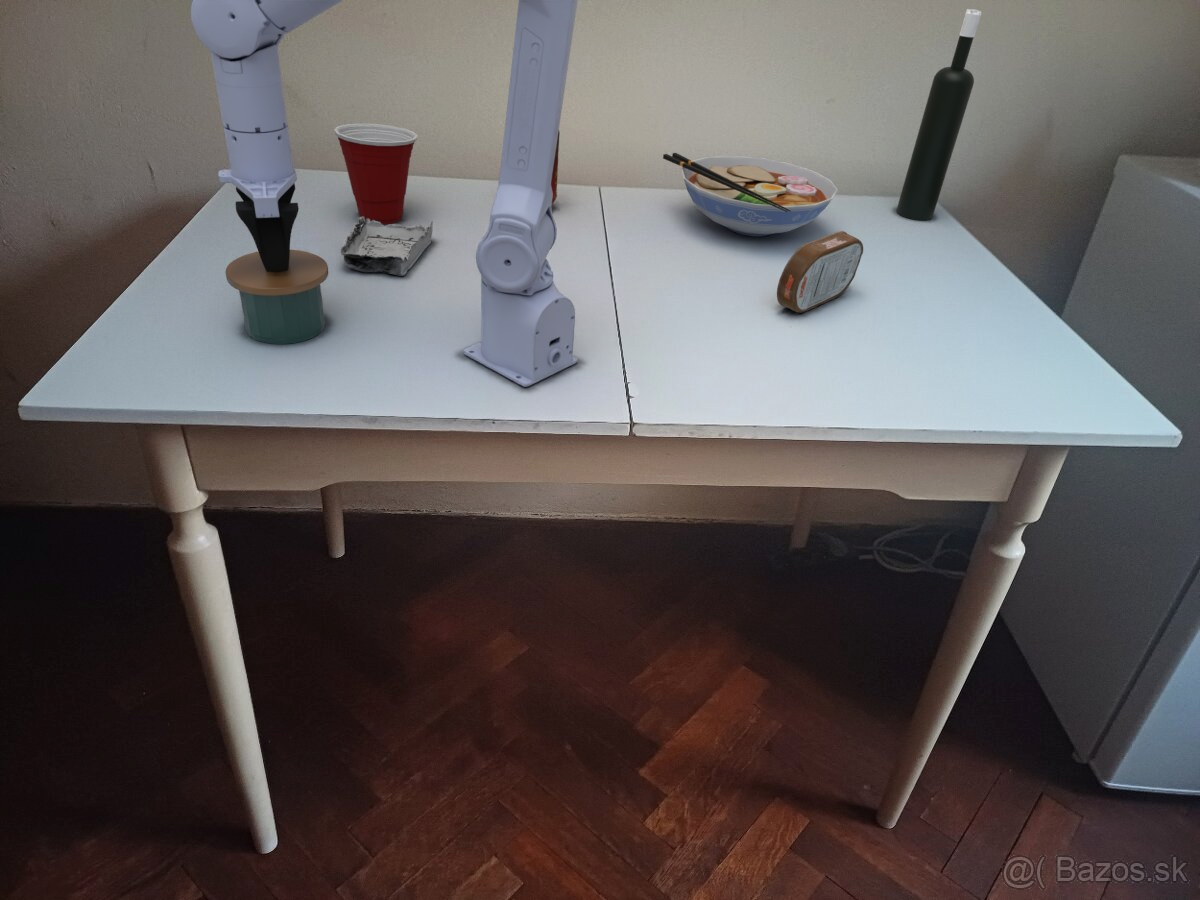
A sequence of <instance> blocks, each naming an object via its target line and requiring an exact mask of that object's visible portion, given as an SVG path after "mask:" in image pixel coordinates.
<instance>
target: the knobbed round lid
mask: <svg viewBox="0 0 1200 900" xmlns="http://www.w3.org/2000/svg"><path fill="white" fill-rule="evenodd" d="M328 276H329V266H328V263H327V261H326V260H325V259H324V258H322V257H321V256H320V255H317V254H315V253H312V252H310V251H309V252H308V251H305V250H300V249H299V250H298V249H290V258H289V267H288V270H287V271H274V272H267V271H266V269H265V267H264V265H263V263H262V260H261V258H260V255H259V252H258V251H255V252H254V251H253V252H251V253H247V254H245V255H241V256H239V257H236V258H235V259H234V260H232V261H230V262H229V264H228V265H227V266H226V267H225V277H226V278H225V279H226V282H227V283H228V284H229V285H230V287H232V288H233V289H235V290H237V291H238V292H239V291H242V292H246V293H250V294H255V295H266V296H275V295H288V294H294V293H299V292H303V291H306V290H309V289H312V288H314V287H316V286H318V285H320V286H321V285H322V284H323V283H324V282H325V281H326V280H327V278H328Z"/></svg>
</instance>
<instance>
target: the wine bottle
mask: <svg viewBox="0 0 1200 900" xmlns="http://www.w3.org/2000/svg"><path fill="white" fill-rule="evenodd" d="M982 12H983V11H982V10H978V9H975V8H974V9H973V8H971V9H970V8H966V11H965V14H964V17H963V21H962V24H961V26H960V27H961V28H960V31H959V33H958V34H959V35H958V36H959V37H958V40H957V44H956V47H955V50H954V53H953V56H952V57H953V58H952V61H951V64H950V66H946V67H945V66H944V67H943V68H941V69H939V70H938V71H937V72H936V73H935V75H934V76H933V79H932V83H931V87H930V89H929V94H928V97H927V100H926V104H925V107H924V111H923V115H922V118H921V121H920V125H919V129H918V133H917V135H916V139H915V143H914V146H913V150H912V154H911V156H910V161H909V164H908V167H907V172H906V174H905V179H904V182H903V185H902V190H901V193H900V196H899V200H898V204H897V207H896V210H895V211H896V213H897V215H900V217H904V218H905V219H906V218H907V219H910V220H915V221H929V220H931V219H932V218H933V217H934V214H935V210H936V207H937V204H938V201H939V197H940V195H941V191H942V188H943V185H944V182H945V178H946V175H947V171H948V168H949V166H950V162H951V159H952V156H953V153H954V149H955V146H956V144H957V143H956V142H957V139H958V136H959V132H960V130H961V126H962V123H963V120H964V116H965V113H966V110H967V107H968V104H969V101H970V97H971V94H972V90H973V88H974V84H975V77H974V75H973V73H972V72H971V71H970V70H968V69H966V65H967V64H966V63H967V62H968V59H969V55H970V51H971V48H972V44H973V41H974V38H975V37H976V35H977V31H978V26H979V23H980V20H981V17H982Z"/></svg>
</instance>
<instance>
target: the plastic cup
mask: <svg viewBox="0 0 1200 900" xmlns="http://www.w3.org/2000/svg"><path fill="white" fill-rule="evenodd" d="M333 132H334V134H335V136H336V137H337V140H338V142H339V146H340V148H341V153H342V155H343V159H344V163H345V166H346V171H347V175H348V179H349V183H350V186H351V191H352V194H353V197H354V199H355V204H356V208H357V213H358V214H359V218H360V217H362V216H363V217H364V220H366V219H369V220H370V222H371V221H372V220H375V221H378V222H380V223H381V224H382V225H389V224H396V223H398V222H399V221H402V217H403V214H404V207H405V198H406V197H405V196H406V194H407V187H408V180H409V179H408V178H409V170H410V169H409V168H410V161H411V157H412V152H413V149H414V144H415V143H416V141H417V140H418V138H419V135H418V134H417V133H415V132H414V131H412V130H410V129H407V128H404V127H399V126H394V125H387V124H380V123H363V122H361V123H347V124H343V125H342V124H341V125H337V126H336V127H335V128H334V129H333Z"/></svg>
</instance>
